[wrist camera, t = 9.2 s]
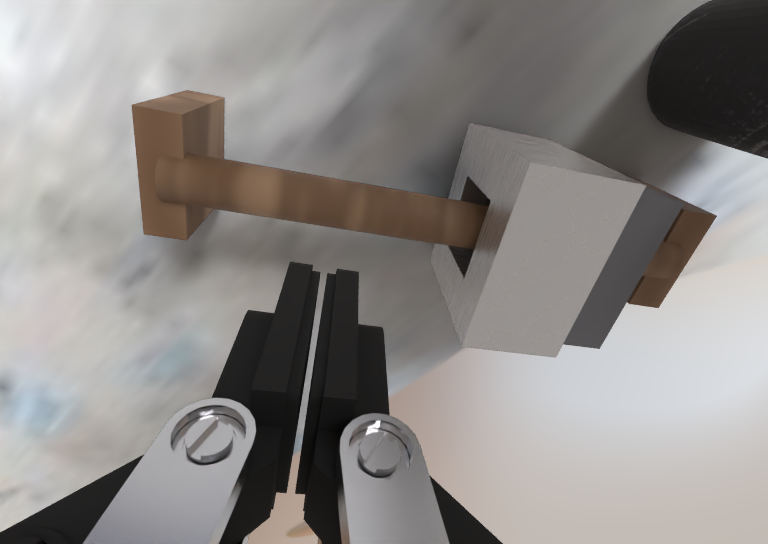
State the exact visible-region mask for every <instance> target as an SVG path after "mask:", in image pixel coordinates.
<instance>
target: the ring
mask: <svg viewBox="0 0 768 544" xmlns="http://www.w3.org/2000/svg"><path fill="white" fill-rule="evenodd" d="M683 205H684V203H683V202H681V201H679V200H676V199H674V198H672V197H670V196H668V195H666V194H664V193H662V192H659V191H657V190H655V189H653V188H651V187H649V186H647V185H646V187H645V189H644V191H643V193H642V195H641V197H640V199H639V200H638V202H637V204H636V206H635V208H634V210H633V212H632V214H631V216H630V218H629V219H628V221H627V223H626V225H625V227H624V229H623V231H622V233H621V235H620V237H619V238H618V240H617V242H616V244H615V246H614V248H613V250H612V252H611V254H610V256H609V258H608V259H607V261H606V263H605V265H604V267H603V269H602V271H601V273H600V275H599V277H598V278H597V280H596V282H595V284H594V286H593V288H592V290H591V292H590V294H589V296H588V297H587V299H586V301H585V303H584V305H583V307H582V309H581V311H580V313H579V315H578V316H577V318H576V320H575V322H574V324H573V326H572V328H571V330H570V332H569V334H568V336H567V337H566V339H565V341H564V343H563V344H566V345H574V346H581V347H589V348H598V349H600V347H601V345H602V344H603V342H604V340H605V338H606V337H607V335H608V333H609V332H610V330H611V328H612V326H613V324H614V323H615V321H616V320H617V318H618V316H619V314H620V313H621V311H622V309H623V308H624V306H625V304H626V302H627V301H628V299H629V297H630V296H631V294H632V292H633V291H634V289H635V287H636V285H637V284H638V282H639V280H640V279H641V277H642V275H643V273H644V272H645V270H646V268H647V267H648V265H649V263H650V261H651V260H652V258H653V256H654V255H655V253H656V251H657V250H658V248H659V246H660V244H661V243H662V241H663V239H664V238H665V236H666V234H667V232H668V231H669V229H670V227H671V226H672V224H673V222H674V220H675V219H676V217H677V215H678V214H679V212H680V210H681V208H682V207H683Z"/></svg>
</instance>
